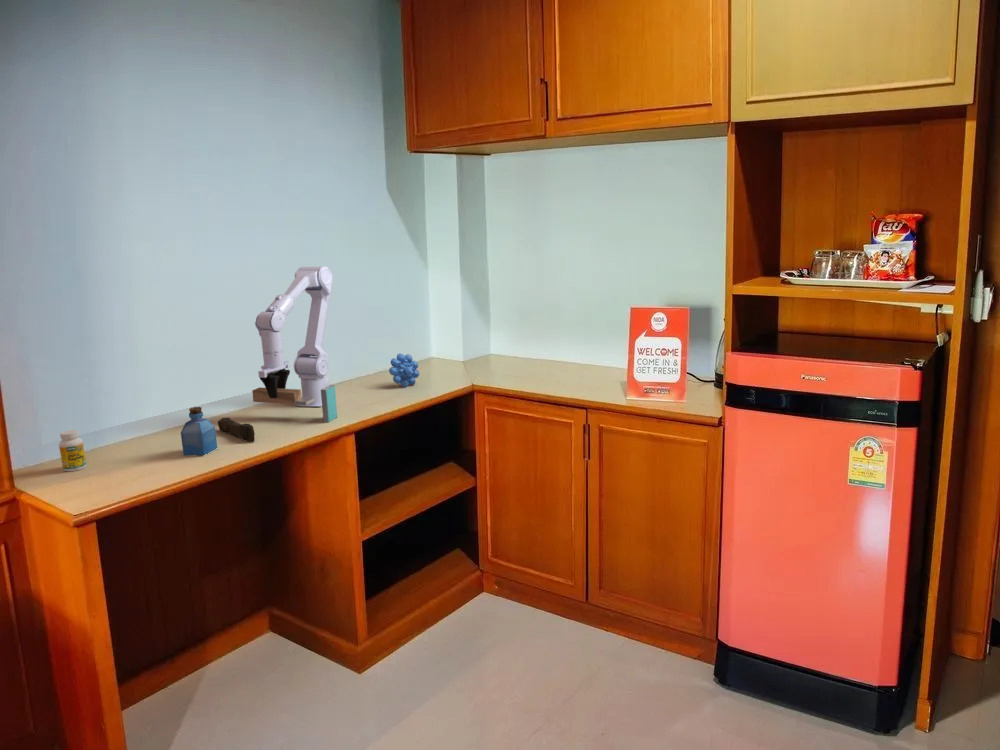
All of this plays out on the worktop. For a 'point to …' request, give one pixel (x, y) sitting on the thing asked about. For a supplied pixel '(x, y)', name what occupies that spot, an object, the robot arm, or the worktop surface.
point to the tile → (329, 403)
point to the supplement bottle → (72, 451)
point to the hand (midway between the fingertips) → (277, 395)
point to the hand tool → (237, 429)
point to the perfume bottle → (198, 434)
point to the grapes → (404, 370)
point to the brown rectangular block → (281, 396)
